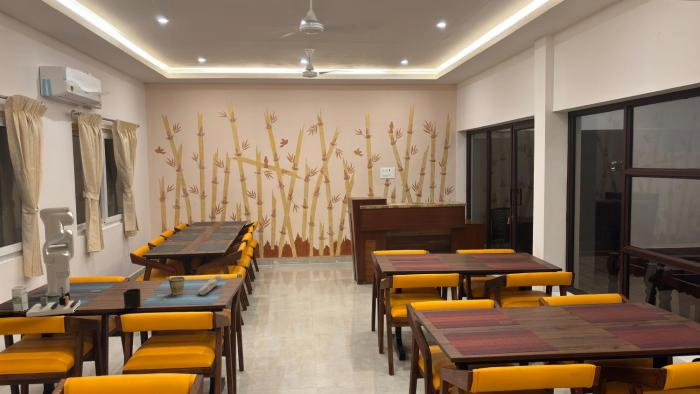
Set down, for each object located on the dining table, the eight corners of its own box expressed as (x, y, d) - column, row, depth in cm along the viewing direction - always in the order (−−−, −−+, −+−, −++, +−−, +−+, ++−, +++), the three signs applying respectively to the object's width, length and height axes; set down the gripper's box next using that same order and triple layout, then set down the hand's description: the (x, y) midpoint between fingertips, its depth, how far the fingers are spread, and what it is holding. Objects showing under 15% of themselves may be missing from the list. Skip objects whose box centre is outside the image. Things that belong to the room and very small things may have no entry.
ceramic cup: (180, 295, 325) (179, 280, 324) (166, 295, 327) (165, 280, 326) (190, 290, 338) (189, 275, 337) (176, 289, 340) (176, 275, 339)
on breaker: (42, 304, 301) (41, 297, 300) (47, 304, 301) (47, 296, 301) (40, 305, 298) (40, 298, 298) (46, 305, 299) (46, 297, 299)
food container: (224, 279, 352) (220, 272, 352) (211, 294, 323) (207, 286, 322) (210, 286, 354) (206, 279, 353) (195, 301, 324) (191, 294, 323)
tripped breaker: (63, 303, 301) (62, 296, 301) (68, 303, 302) (68, 296, 301) (62, 305, 299) (61, 297, 298) (67, 304, 300) (67, 297, 299)
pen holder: (121, 307, 302) (120, 290, 302) (137, 303, 309) (136, 287, 308) (127, 310, 296) (126, 293, 295) (143, 307, 302) (142, 290, 301)
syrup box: (28, 309, 301) (27, 285, 300) (22, 312, 296) (21, 288, 294) (19, 309, 301) (17, 285, 300) (12, 312, 295) (11, 288, 294)
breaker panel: (36, 307, 304) (36, 303, 304) (80, 303, 311) (80, 299, 311) (26, 317, 287) (26, 312, 287) (73, 312, 294) (73, 308, 293)
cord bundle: (57, 302, 305) (57, 299, 305) (79, 300, 309) (79, 297, 308) (50, 310, 291) (50, 306, 291) (73, 308, 294) (73, 304, 294)
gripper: (59, 271, 304) (61, 299, 306) (51, 278, 288) (53, 307, 289) (73, 270, 307) (75, 298, 308) (66, 277, 290) (68, 306, 291)
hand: (64, 302), depth 299 cm, fingers open, 9 cm apart
